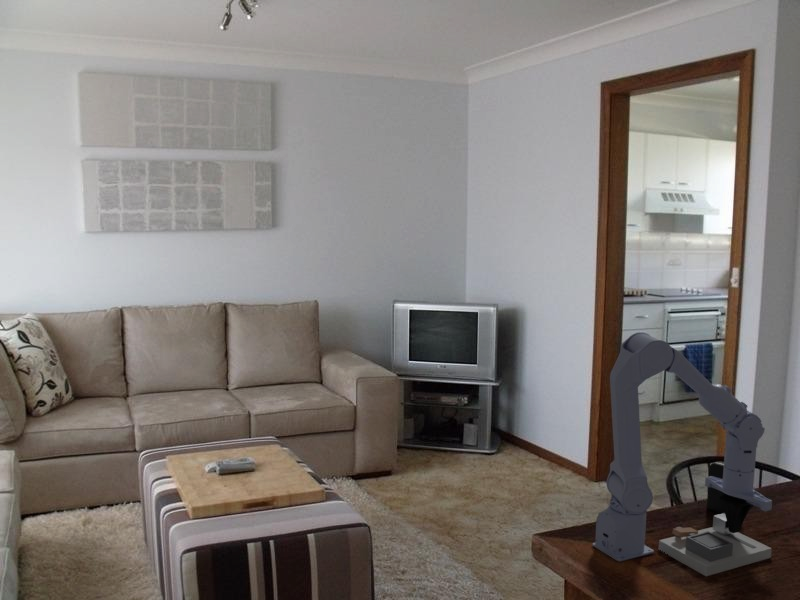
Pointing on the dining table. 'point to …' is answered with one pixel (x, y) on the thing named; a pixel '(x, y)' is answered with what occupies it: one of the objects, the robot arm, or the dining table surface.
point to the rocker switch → (684, 531)
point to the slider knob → (720, 524)
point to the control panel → (715, 551)
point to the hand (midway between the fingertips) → (734, 531)
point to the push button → (709, 541)
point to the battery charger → (713, 493)
